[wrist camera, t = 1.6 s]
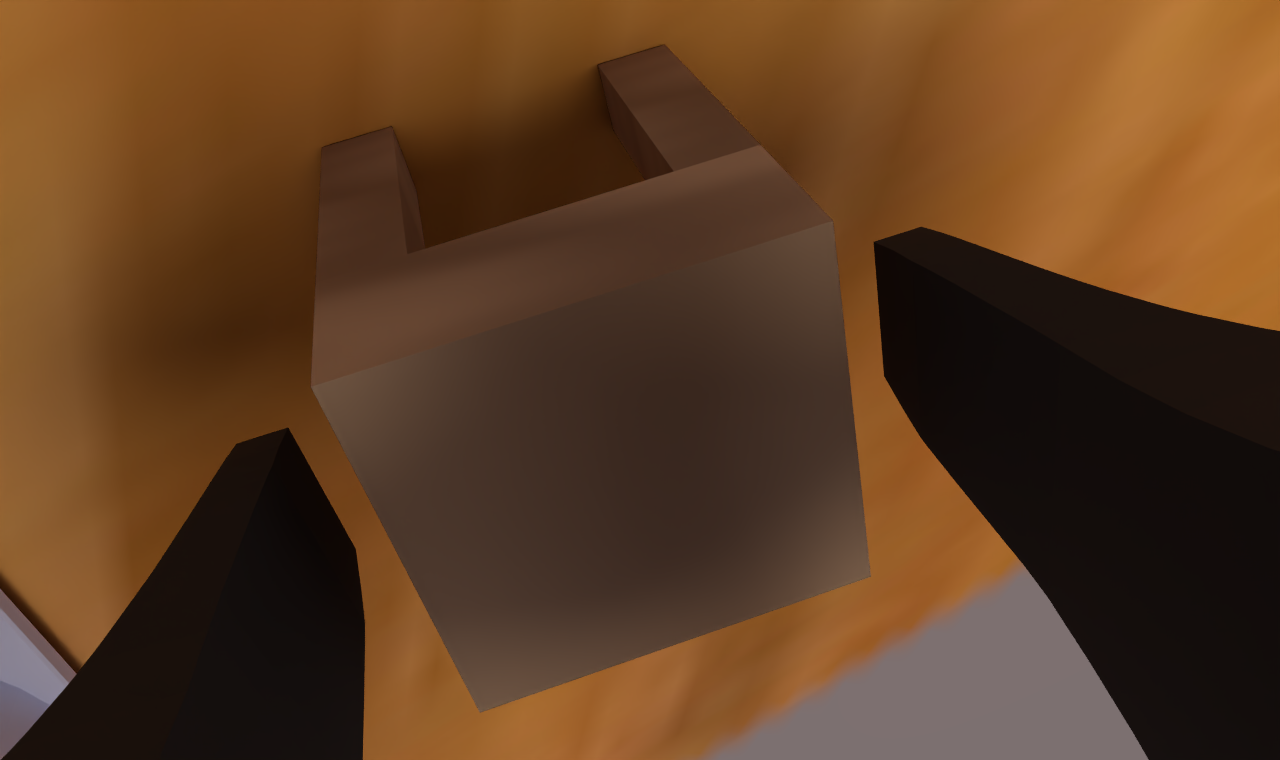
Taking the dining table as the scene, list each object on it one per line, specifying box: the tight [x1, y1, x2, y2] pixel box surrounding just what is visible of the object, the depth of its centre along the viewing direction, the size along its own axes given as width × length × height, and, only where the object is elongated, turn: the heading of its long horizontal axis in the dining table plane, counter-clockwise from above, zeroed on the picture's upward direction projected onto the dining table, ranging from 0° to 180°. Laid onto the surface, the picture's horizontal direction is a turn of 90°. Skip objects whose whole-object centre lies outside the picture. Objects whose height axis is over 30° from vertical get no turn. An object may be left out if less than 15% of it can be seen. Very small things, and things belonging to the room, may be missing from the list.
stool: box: [311, 45, 871, 712], centre depth 13 cm, size 5×5×6 cm
